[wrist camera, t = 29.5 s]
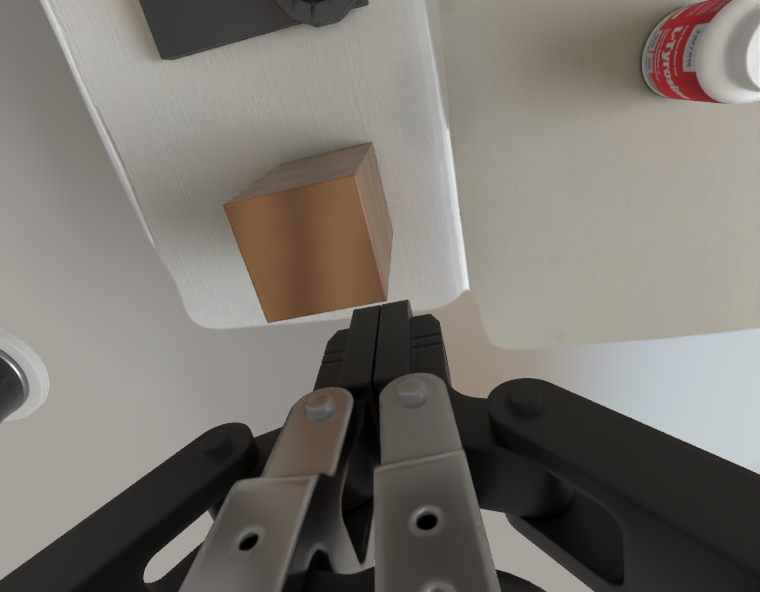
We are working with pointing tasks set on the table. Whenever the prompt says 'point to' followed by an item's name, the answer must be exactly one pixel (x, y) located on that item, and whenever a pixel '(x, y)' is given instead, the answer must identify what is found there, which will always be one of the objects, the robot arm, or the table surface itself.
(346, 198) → the oak stand
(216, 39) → the scale
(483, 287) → the table surface
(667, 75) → the pill bottle
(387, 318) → the robot arm
